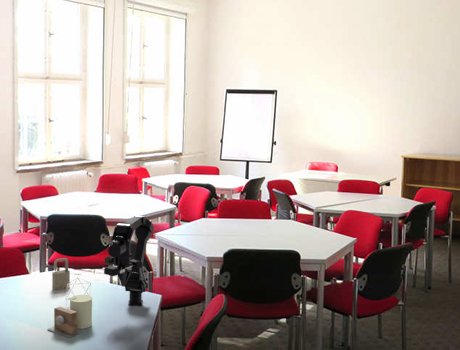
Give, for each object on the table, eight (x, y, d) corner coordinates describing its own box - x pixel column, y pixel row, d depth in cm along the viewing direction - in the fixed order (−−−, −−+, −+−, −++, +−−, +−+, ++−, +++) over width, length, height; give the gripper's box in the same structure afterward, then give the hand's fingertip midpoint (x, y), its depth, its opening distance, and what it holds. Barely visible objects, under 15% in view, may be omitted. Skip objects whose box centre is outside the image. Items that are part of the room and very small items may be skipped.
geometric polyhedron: (91, 303, 272) (91, 284, 271) (67, 305, 269) (67, 285, 268) (89, 295, 284) (89, 276, 283) (66, 296, 281) (66, 278, 280)
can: (70, 321, 250) (70, 294, 248) (92, 320, 252) (92, 293, 250) (69, 329, 241) (69, 301, 239) (92, 328, 243) (92, 300, 241)
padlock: (51, 288, 292) (51, 259, 290) (66, 285, 297) (66, 256, 295) (55, 290, 289) (55, 260, 287) (70, 287, 294) (70, 258, 292)
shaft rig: (62, 324, 246) (62, 303, 245) (83, 331, 239) (84, 310, 238) (47, 330, 239) (47, 309, 238) (69, 338, 232) (69, 316, 231)
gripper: (124, 245, 268) (124, 277, 270) (95, 252, 253) (94, 287, 255) (143, 249, 262) (142, 282, 264) (113, 257, 247) (113, 292, 249)
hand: (123, 286), depth 258 cm, fingers closed
